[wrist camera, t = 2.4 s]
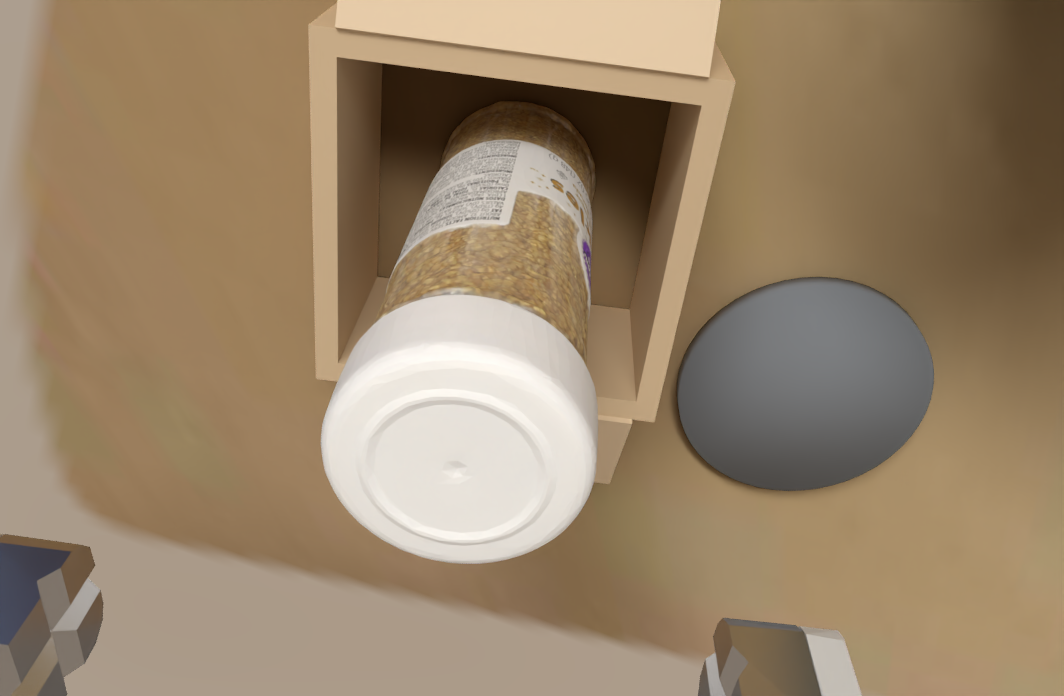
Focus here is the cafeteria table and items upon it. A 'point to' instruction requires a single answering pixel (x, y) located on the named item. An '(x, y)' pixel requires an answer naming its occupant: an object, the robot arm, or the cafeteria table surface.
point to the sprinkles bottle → (479, 353)
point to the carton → (535, 57)
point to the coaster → (804, 384)
